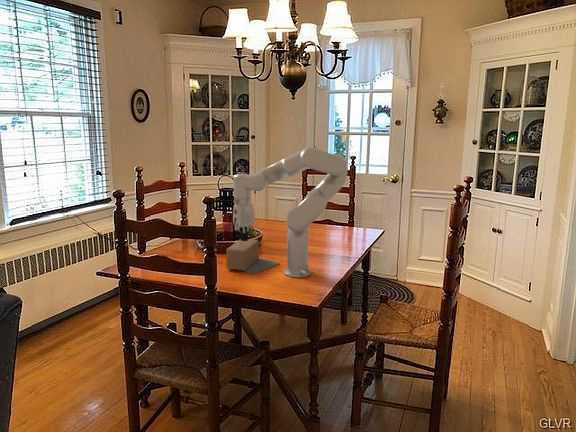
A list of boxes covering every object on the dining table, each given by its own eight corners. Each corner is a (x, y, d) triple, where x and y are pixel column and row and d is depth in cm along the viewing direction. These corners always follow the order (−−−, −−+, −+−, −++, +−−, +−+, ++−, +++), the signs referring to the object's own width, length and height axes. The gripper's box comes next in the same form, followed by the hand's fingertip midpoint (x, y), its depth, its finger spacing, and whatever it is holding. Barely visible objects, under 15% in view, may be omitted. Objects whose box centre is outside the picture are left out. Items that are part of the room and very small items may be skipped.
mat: (253, 274, 209) (253, 273, 209) (233, 268, 217) (233, 267, 216) (279, 264, 223) (279, 262, 223) (259, 258, 231) (259, 257, 231)
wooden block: (245, 250, 208) (259, 239, 227) (225, 248, 211) (240, 237, 230) (246, 271, 211) (259, 258, 230) (225, 269, 213) (241, 256, 232)
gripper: (237, 204, 197) (238, 245, 201) (260, 199, 209) (261, 238, 213) (224, 203, 202) (226, 243, 206) (247, 198, 213) (249, 235, 217)
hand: (244, 240), depth 209 cm, fingers closed
